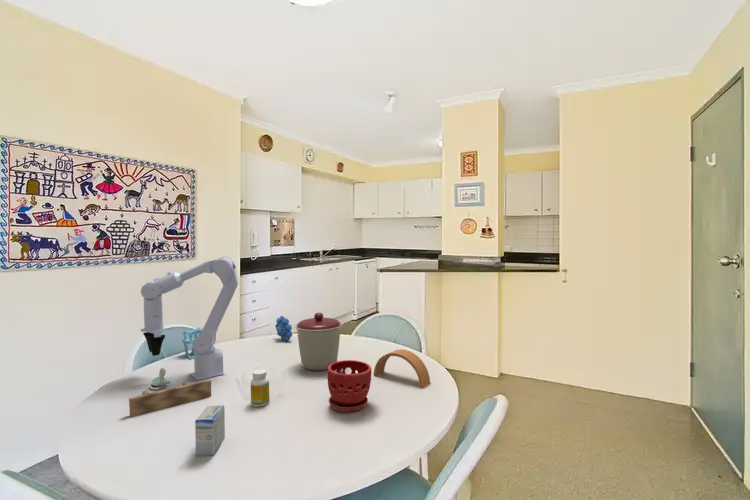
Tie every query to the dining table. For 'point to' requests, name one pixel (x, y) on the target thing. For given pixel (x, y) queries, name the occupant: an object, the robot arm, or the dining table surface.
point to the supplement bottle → (259, 388)
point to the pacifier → (159, 380)
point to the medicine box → (210, 430)
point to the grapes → (283, 328)
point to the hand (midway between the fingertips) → (154, 353)
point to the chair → (190, 340)
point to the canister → (318, 341)
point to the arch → (410, 358)
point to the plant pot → (349, 385)
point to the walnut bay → (169, 397)
